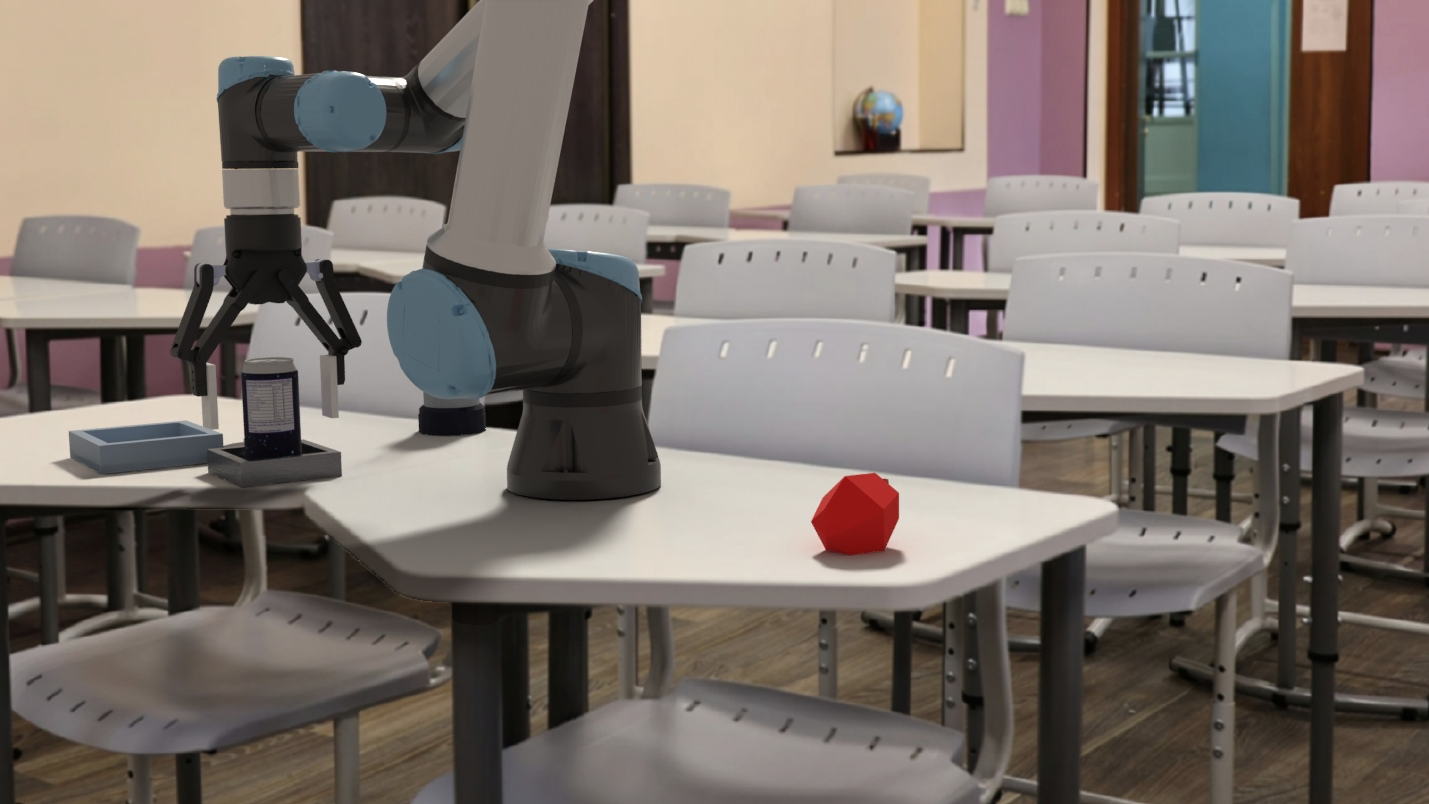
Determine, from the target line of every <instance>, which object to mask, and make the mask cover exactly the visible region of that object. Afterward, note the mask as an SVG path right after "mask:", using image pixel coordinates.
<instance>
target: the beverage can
mask: <svg viewBox="0 0 1429 804" xmlns="http://www.w3.org/2000/svg"><path fill="white" fill-rule="evenodd" d="M294 361H295V360H294V358H292V357H284V356H271V357H257V358H256V357H255V358H248V359H245V360H244V361H243V362H244V366H243V368H242V371H241V373H240V377H241V378H240V380H241V396H242V397H241V398H242V399H241V401H242V416H243V418H242V419H243V436H244V437H243V439H244V441H243V442H245V460H255V459H264V458H273V457H283V456H292V455H302V446H301V440H302V428H301V427H302V426H301V411H300V410H301V405H300V403H301V402H300V386H299V385H300V384H299V370H298V368H297V367H296V365H295V363H294Z"/></svg>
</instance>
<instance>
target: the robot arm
mask: <svg viewBox="0 0 1429 804" xmlns="http://www.w3.org/2000/svg"><path fill="white" fill-rule="evenodd" d="M593 1H595V0H479V1H477V2H476V3H475V5H474V6H473V7H472V8H471V9H470V10H468V12H466V14H465V15H464V16H463V17H462V18H461V19H460V20H459V21H458V22H457V23H456V24H455V26H453V27H452V29H450V30H449V31H448V33H447V34H445V36H443V38H442V39H440V41H439V42H438V43H437V44H436V45H435V46H434V47H433V48H432V49H431V50H430V51H429V52H428V53H427V54H426V55H425V56H424V58H423V59H422V60H421V61H420V62H418V63H417V64H416V65H415V66H414V67H413V68H412V69H411V71H409V72H408V73H407V74H406V75H405V76H402V77H401V76H399V77H398V76H395V77H393V76H377V75H376V76H373V75H365V74H362V73H359V72H356V71H355V72H354V71H347V70H340V71H339V70H333V69H331V70H323V71H322V72H318V73H317V72H316V73H306V74H295V69H294V67H295V65H294V64H293V62H292V61H291V60H290V59H289V58H286V57H280V56H268V55H267V56H266V55H265V56H263V55H254V56H253V55H247V56H230V57H226V58H223V60H221V62H220V63H219V65H218V67H217V68H218V69H217V71H218V72H217V74H218V75H217V77H218V78H217V79H218V80H217V81H218V82H217V83H218V85H217V91H218V92H217V94H216V102H217V110H218V127H219V128H218V130H219V142H220V157H221V159H220V160H221V168H222V171H221V173H222V174H221V175H222V194H223V195H222V197H223V198H222V199H223V207H224V208H225V209H226V210H230V211H229V212H230V213H229V214H228V215H225V218H223V220H224V221H223V223H224V225H223V226H224V244H225V246H224V247H225V254H226V256H225V260H224V263H223V264H220V265H219V264H210V263H201V262H199V263H197V264H195V265H194V268H193V270H194V272H193V275H194V278H193V279H194V280H193V288H192V291H191V293H190V295H189V298H188V302H187V304H186V306H185V310H184V312H183V315H182V316H181V320H180V323H179V326H178V328H177V331H176V333H175V337H174V339H173V341H172V344H171V347H170V351H169V353H170V354H169V355H170V356H171V357H172V358H174V359H175V358H176V359H178V360H182V361H185V362H187V364H188V365H189V368H190V383H191V385H190V387H191V389H190V390H191V392H192V394H193V396H195V397H200V398H201V416H202V426H203V427H205V428H208V429H211V430H214V431H215V430H219V429H220V426H219V425H220V424H219V408H218V406H219V405H218V404H219V403H218V387H217V385H218V384H217V368H216V367H217V366H216V364H213V363H210V362H208V361H209V360H210V358H211V356H212V355H213V354H214V353H215V351H216V349H217V347H218V346H219V344H220V343H221V341H222V340H223V339H224V338H225V336H226V334H227V333H228V331H229V329H230V328H231V326H232V325H233V324H234V322H235V321H236V319H237V318H238V316H239V314H241V312H242V311H243V310H244V309H245V308H246V307H247V305H248V304H250V305H255V306H256V305H264V304H267V303H272V304H285V302H286V303H287V304H288V305H289V306H291V308H292V309H293V310H294V311H295V312H296V314H297V315H298V316H299V318H300V319H301V320H302V321H303V323H304V324H305V325H306V326H307V327H308V328H309V330H310V331H311V333H313V335H314V336H315V338H317V340H318V341H319V343H321V345H322V346H323V347H324V349H325V350H326V351H327V352H328V353H324V354H319V365H320V366H319V367H320V368H319V369H320V372H319V373H320V388H321V389H320V390H321V393H320V394H321V395H320V396H321V412H322V413H321V416H323V417H327V418H330V419H337V418H339V417H340V416H339V414H340V413H339V394H338V393H339V391H338V388H339V387H338V386H343V385H344V384H345V381H346V364H345V363H346V362H345V361H346V360H345V356H346V355H348V353H349V351H350V350H353V349H355V348H359V347H361V345H362V344H363V343H362V342H363V341H362V338H361V337H360V333H359V332H358V330H357V327H356V325H355V323H354V321H353V318H352V316H351V315H350V312H349V310H348V307H347V306H346V305H347V304H346V303H345V301H344V298H343V296H342V294H341V292H340V290H339V288H338V286H337V283H336V281H335V274H334V263H333V262H332V260H330V259H323V258H317V259H315V260H314V261H313V260H312V261H305V260H304V257H303V254H302V250H303V246H302V245H303V241H302V240H303V239H302V221H301V220H302V218H301V216H299V214H296V213H295V209H298V208H299V207H300V206H301V194H300V181H299V180H300V178H299V161H298V160H299V159H298V153H299V152H300V153H301V152H308V153H309V152H312V153H313V152H317V153H318V152H328V153H340V152H341V153H351V152H353V153H360V152H361V153H374V152H375V153H376V152H377V153H383V152H384V153H388V152H389V153H390V152H391V153H419V154H420V153H421V154H422V153H423V154H429V155H439V154H445V153H450V152H451V153H452V152H458V151H459V155H458V162H457V166H456V172H455V173H456V174H455V177H454V178H455V179H454V184H453V190H452V195H451V196H452V197H451V202H450V209H449V213H448V219H447V223H445V224H446V225H445V226H443V227H442V226H441V227H440V228H439V229H438V230H436V231H435V232H433V233H432V234H430V235H429V236H428V237H427V241H426V245H425V249H424V257H423V261H422V268H419V269H417V270H412V271H410V272H409V273H407V274H405V275H404V276H403V277H402V278H401V281H398V282H397V283H396V284H395V285H394V286H393V288H392V290H391V293H390V295H389V299H388V301H387V302H388V303H387V309H386V328H387V334H388V339H389V343H390V347H391V350H392V353H393V356H394V357H395V358H396V359H397V361H398V363H399V367H400V369H401V370H402V371H403V373H404V375H405V376H406V377H407V378H408V380H409V381H410V382H411V383H412V384H413V385H414V386H415V387H416V388H418V389H419V390H420V391H422V393H423V392H425V393H426V394H428V395H431V396H433V397H436V398H440V399H459V398H464V399H479V400H480V399H482V398H484V397H486V396H492V395H498V394H505V393H512V392H518V391H522V414H521V417H520V420H519V425H518V427H517V430H516V434H515V437H514V440H513V444H512V447H511V451H510V455H509V457H508V458H509V459H508V461H507V465H506V486H507V487H506V489H507V490H508V491H509V492H511V493H514V494H517V495H520V496H522V497H523V496H525V497H529V498H537V499H545V500H547V499H549V500H567V501H568V500H572V501H574V500H578V501H579V500H581V501H582V500H602V499H614V498H615V499H616V498H623V497H629V496H630V497H631V496H635V495H636V496H637V495H639V494H644V493H648V492H652V491H654V490H657V489H658V488H660V487H661V485H662V467H661V466H662V465H661V460H660V457H659V455H658V451H657V448H656V445H655V442H654V440H653V437H652V433H651V431H650V428H649V425H648V422H647V419H646V416H645V412H644V409H643V395H642V394H643V392H642V391H643V389H642V387H643V386H642V384H643V383H642V382H643V381H642V380H643V379H642V377H643V376H642V372H643V371H642V369H643V368H642V304H643V295H642V293H641V288H640V287H641V286H640V274H639V273H640V272H639V268H638V266H637V264H636V263H635V262H634V260H632V259H631V258H629V257H626V256H623V255H620V254H612V253H606V252H597V251H587V250H585V251H581V250H571V249H559V248H558V249H557V248H556V249H555V248H548V247H547V246H546V245H545V242H544V239H545V234H546V229H547V223H548V219H549V214H550V213H549V212H550V208H551V203H552V196H553V193H554V187H555V182H556V176H557V172H558V166H559V162H560V161H559V160H560V155H561V150H562V146H563V145H562V144H563V141H564V140H563V139H564V134H565V129H566V123H567V120H568V114H569V109H570V103H571V98H572V94H573V93H572V92H573V89H574V83H575V77H576V74H577V73H576V72H577V67H578V62H579V56H580V51H581V45H582V40H583V36H584V30H585V24H586V20H587V16H588V15H587V14H588V9H589V5H591V4H592V3H593ZM307 274H308V275H309V278H310V280H311V281H314V282H315V285H316V288H317V290H318V292H319V294H320V298H321V299H322V301H323V304H324V305H325V307H326V310H327V312H328V314H329V316H330V319H331V320H332V322H333V324H334V327H335V329H336V331H337V334H338V335H337V334H336V333H335V331H334V330H333V329H332V328H331V326H329V324H328V323H327V321H326V320H325V319H324V317H322V315H321V314H320V313H319V311H318V310H317V308H315V307H314V305H313V304H312V303H311V301H310V300H309V297H308V295H306V293H305V292H304V291H303V289H302V288H301V286H299V285H300V283H301V282H302V281H303V279H304V277H305V276H306V275H307ZM222 277H224V279H225V280H226V282H228V284H229V285H230V287H231V288H230V290H229V291H228V292H227V295H226V296H225V297H224V299H223V302H222V304H221V306H220V307H219V309H218V311H216V313H215V315H214V316H213V318H212V319H211V321H210V322H209V323H208V325H207V327H206V329H205V330H204V331H203V332H202V334H201V336H200V337H199V339H198V340H197V342H196V343H195V340H196V338H197V335H198V333H199V330H200V327H201V324H202V322H203V320H204V319H203V318H204V317H205V314H206V311H207V308H208V306H209V304H210V300H211V297H212V294H213V291H214V287H215V286H217V285H218V284H219V282H220V280H221V278H222ZM194 343H195V345H194Z"/></svg>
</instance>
